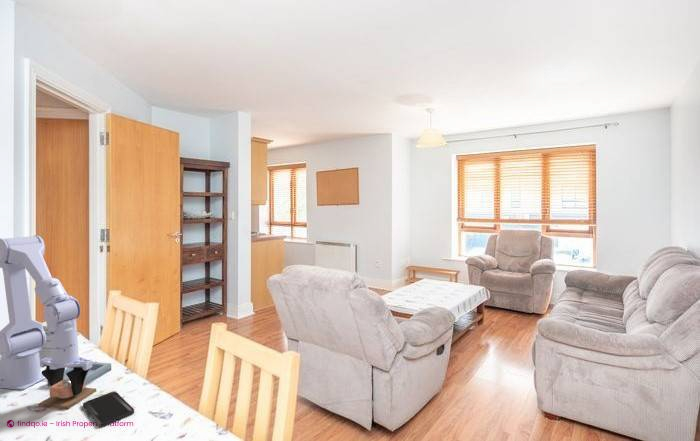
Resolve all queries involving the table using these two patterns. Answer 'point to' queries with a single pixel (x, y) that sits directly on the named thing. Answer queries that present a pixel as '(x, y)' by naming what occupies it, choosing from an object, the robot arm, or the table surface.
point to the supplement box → (46, 344)
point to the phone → (108, 409)
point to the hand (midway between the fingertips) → (68, 392)
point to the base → (66, 404)
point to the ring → (61, 390)
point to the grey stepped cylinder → (66, 383)
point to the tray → (92, 371)
